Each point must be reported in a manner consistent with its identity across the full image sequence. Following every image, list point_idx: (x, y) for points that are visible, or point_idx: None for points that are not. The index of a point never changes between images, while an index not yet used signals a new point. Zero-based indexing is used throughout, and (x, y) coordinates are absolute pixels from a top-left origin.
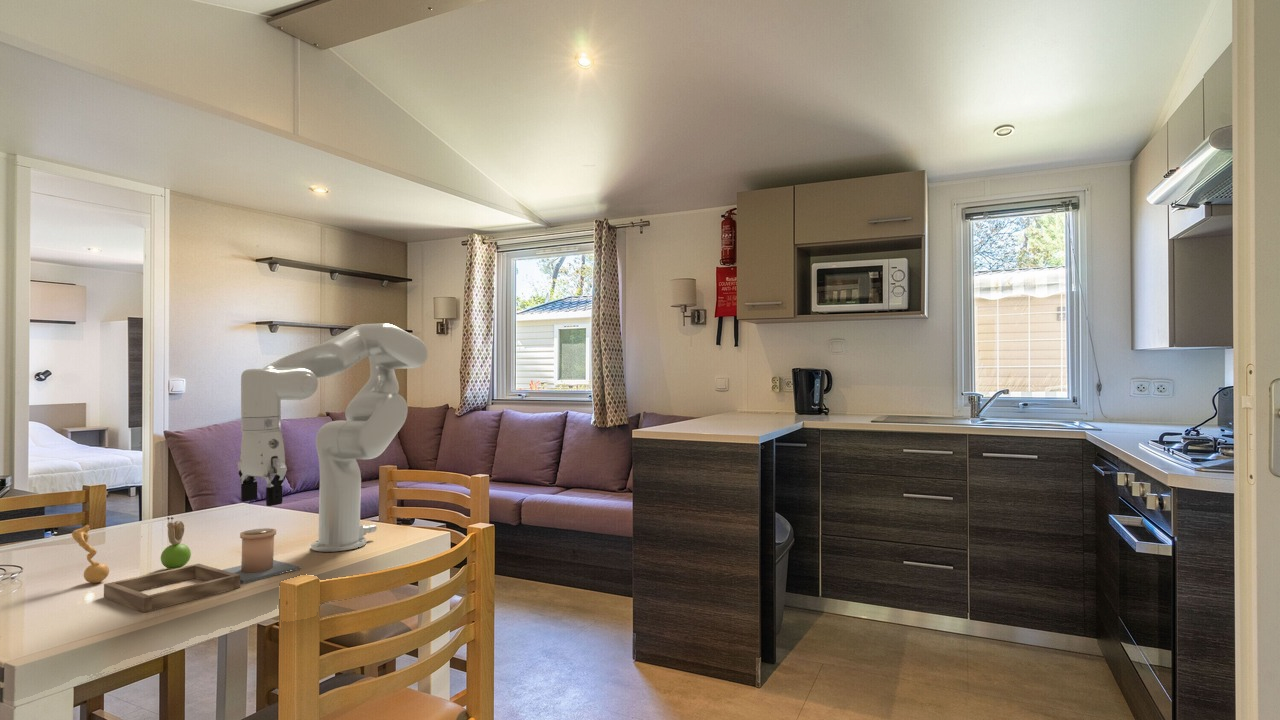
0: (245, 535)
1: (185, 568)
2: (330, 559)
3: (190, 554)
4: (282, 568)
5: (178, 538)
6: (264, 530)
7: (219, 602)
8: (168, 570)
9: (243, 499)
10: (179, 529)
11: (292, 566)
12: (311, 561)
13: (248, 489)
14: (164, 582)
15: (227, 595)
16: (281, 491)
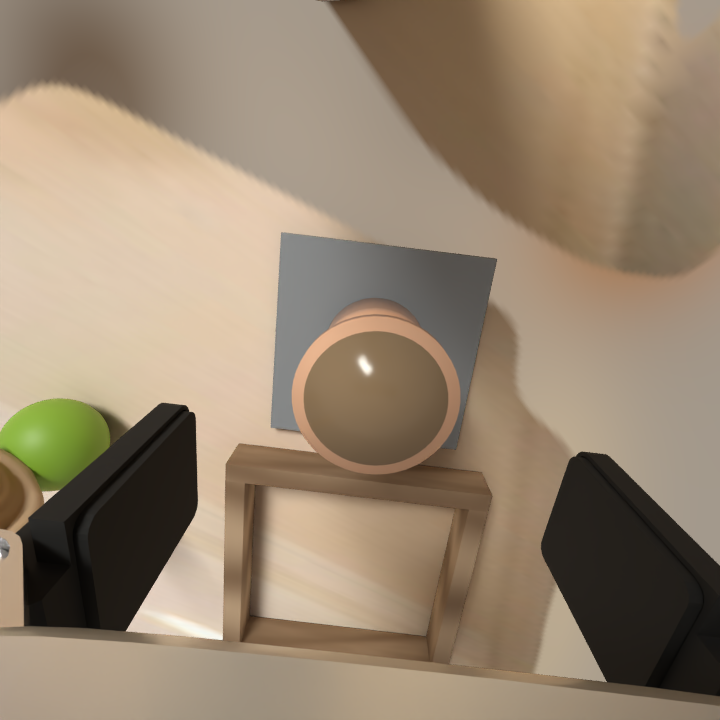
0: (389, 472)
1: (244, 506)
2: (498, 84)
3: (80, 415)
4: (456, 307)
5: (15, 485)
6: (385, 375)
7: (541, 560)
8: (229, 541)
9: (190, 522)
10: None
11: (470, 273)
12: (443, 151)
13: (145, 555)
14: (251, 532)
15: (510, 523)
16: (678, 537)
